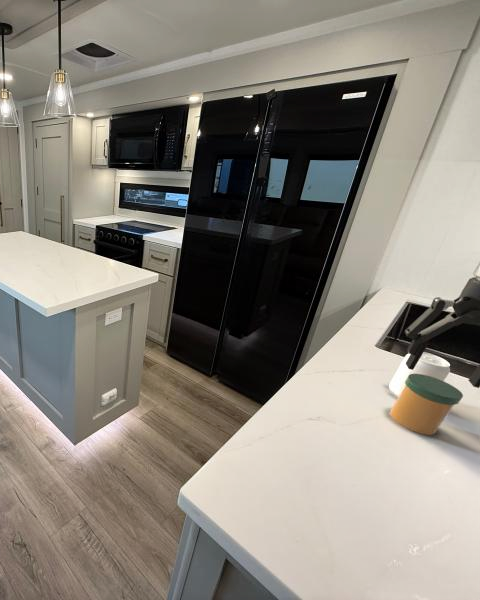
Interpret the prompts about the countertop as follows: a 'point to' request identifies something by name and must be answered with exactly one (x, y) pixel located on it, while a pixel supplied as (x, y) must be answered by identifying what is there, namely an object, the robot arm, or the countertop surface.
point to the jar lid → (433, 389)
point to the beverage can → (420, 370)
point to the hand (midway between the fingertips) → (440, 375)
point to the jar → (419, 412)
